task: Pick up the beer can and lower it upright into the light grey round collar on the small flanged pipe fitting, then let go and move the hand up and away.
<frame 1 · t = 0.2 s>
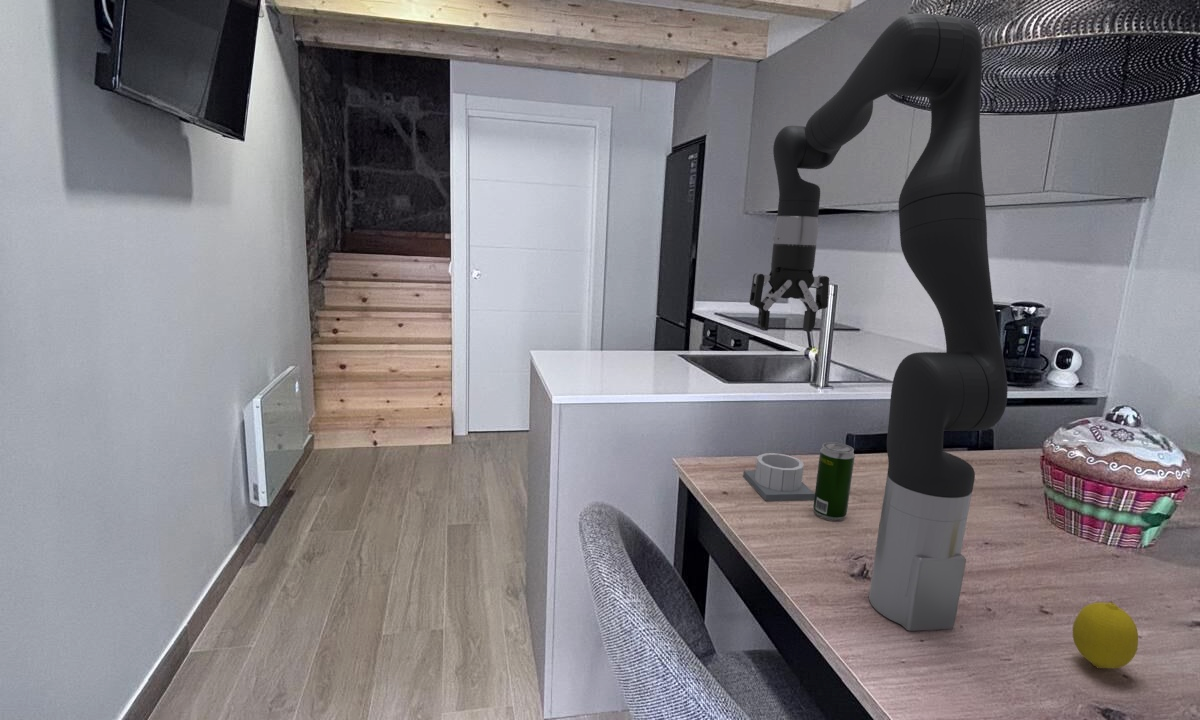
hand: (785, 330, 114), 28 cm above the table, tool pointing down, fingers open, 8 cm apart
lemon: (1096, 668, 69), on the table
flanged pipe fitting: (777, 487, 114), on the table
beer can: (829, 515, 104), on the table
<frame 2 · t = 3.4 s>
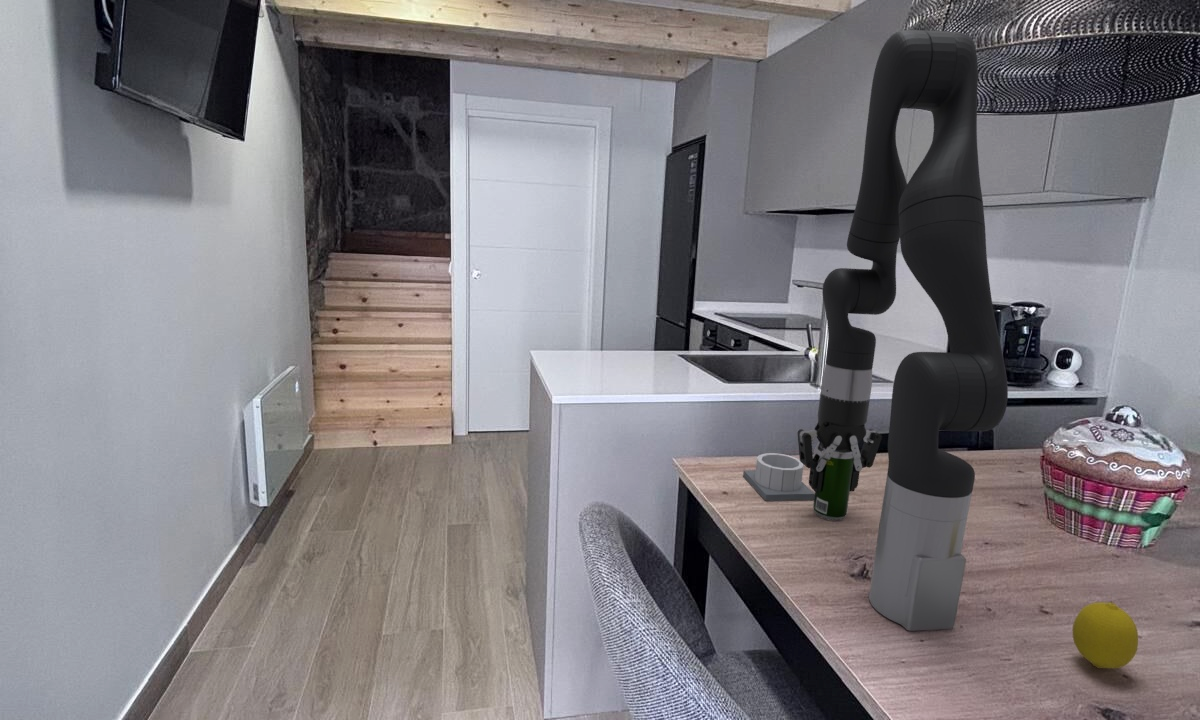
hand: (832, 489, 103), 4 cm above the table, tool pointing down, fingers closed on beer can, 5 cm apart
beer can: (829, 515, 104), on the table, touching gripper
everything else where it was.
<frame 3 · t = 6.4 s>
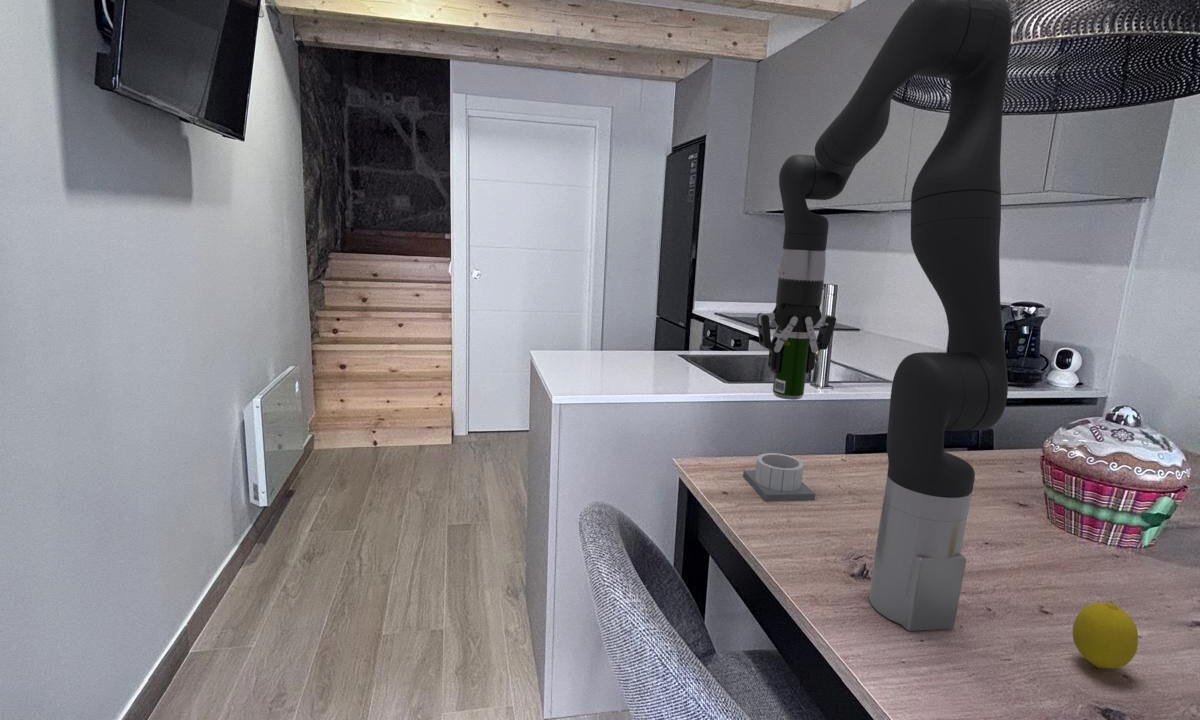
hand: (790, 371, 109), 22 cm above the table, tool pointing down, fingers closed on beer can, 5 cm apart
beer can: (787, 397, 110), point 17 cm above the table, touching gripper
everything else where it was.
when the fingers open (7 cm above the table, at t = 9.5 s): beer can drops 1 cm, resting on flanged pipe fitting.
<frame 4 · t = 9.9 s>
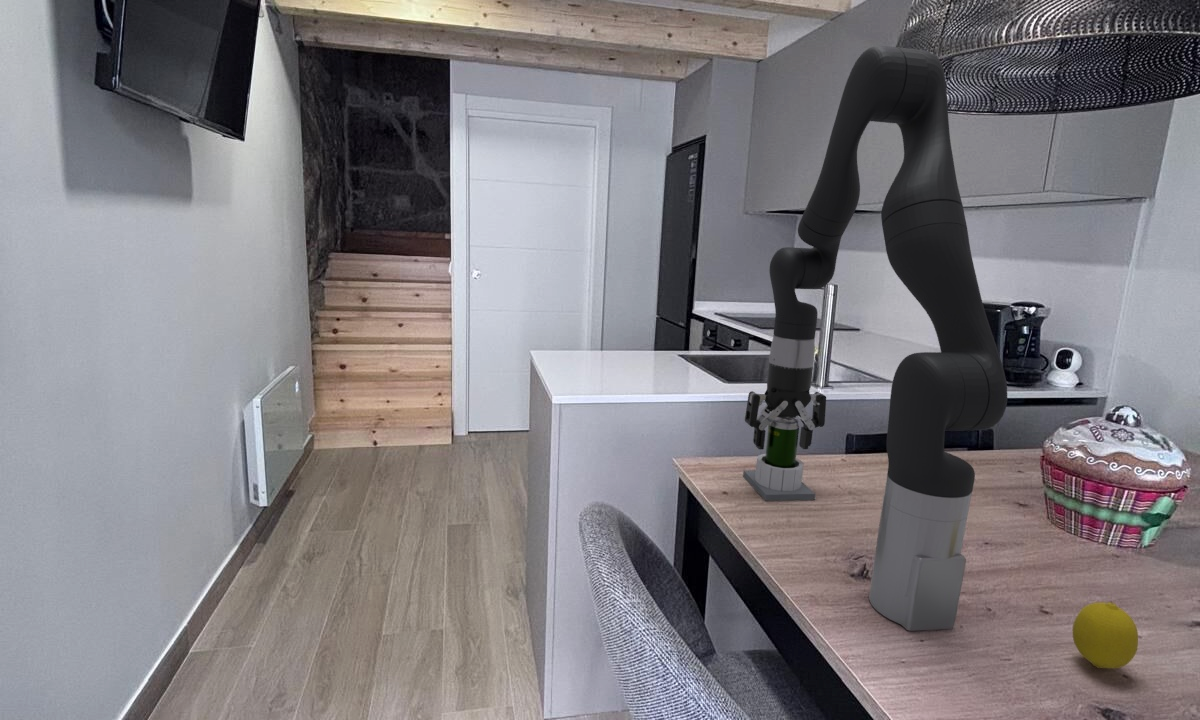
hand: (781, 448, 112), 8 cm above the table, tool pointing down, fingers open, 8 cm apart
beer can: (778, 482, 113), point 1 cm above the table, touching flanged pipe fitting
everything else where it was.
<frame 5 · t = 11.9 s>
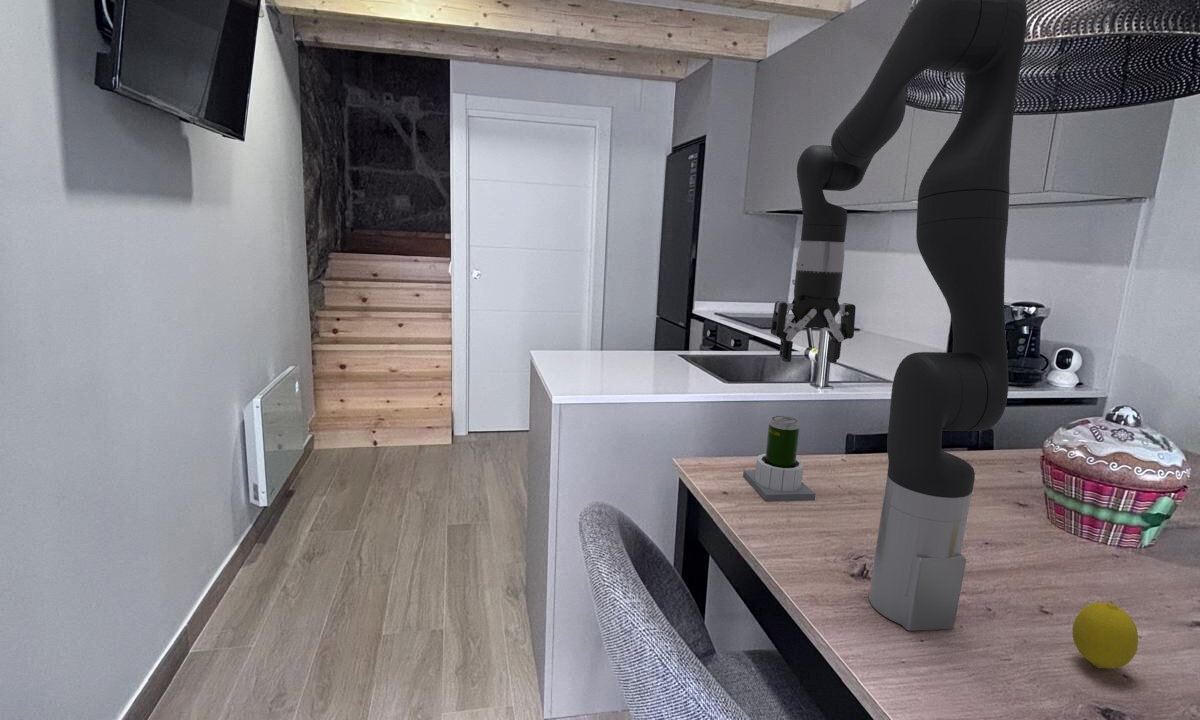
hand: (809, 361, 107), 24 cm above the table, tool pointing down, fingers open, 8 cm apart
nothing on the table moved.
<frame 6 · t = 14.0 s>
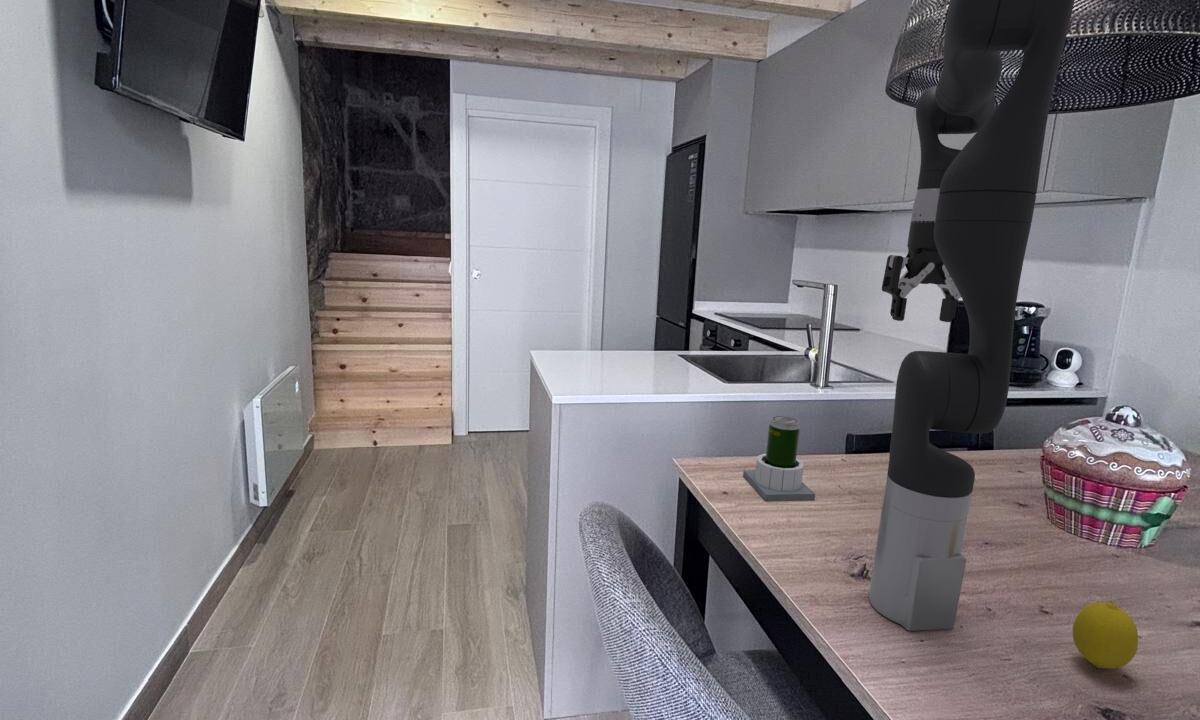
hand: (921, 320, 100), 33 cm above the table, tool pointing down, fingers open, 8 cm apart
nothing on the table moved.
at the end: beer can 0.1 cm off-centre on the flanged pipe fitting, point 1.0 cm above the flanged pipe fitting's base; beer can tilted 0°; the gripper is holding nothing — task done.
